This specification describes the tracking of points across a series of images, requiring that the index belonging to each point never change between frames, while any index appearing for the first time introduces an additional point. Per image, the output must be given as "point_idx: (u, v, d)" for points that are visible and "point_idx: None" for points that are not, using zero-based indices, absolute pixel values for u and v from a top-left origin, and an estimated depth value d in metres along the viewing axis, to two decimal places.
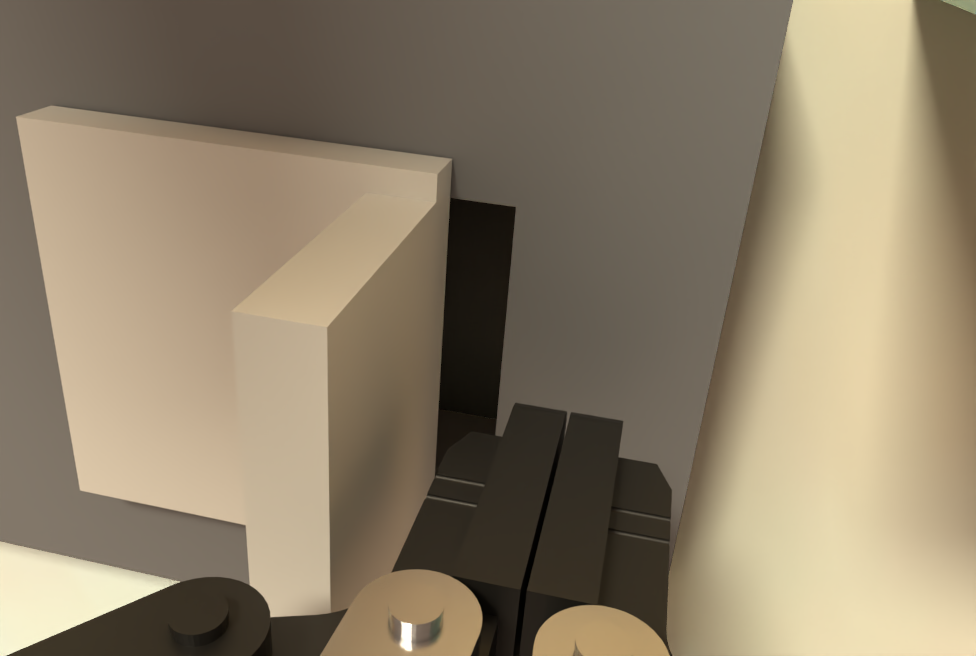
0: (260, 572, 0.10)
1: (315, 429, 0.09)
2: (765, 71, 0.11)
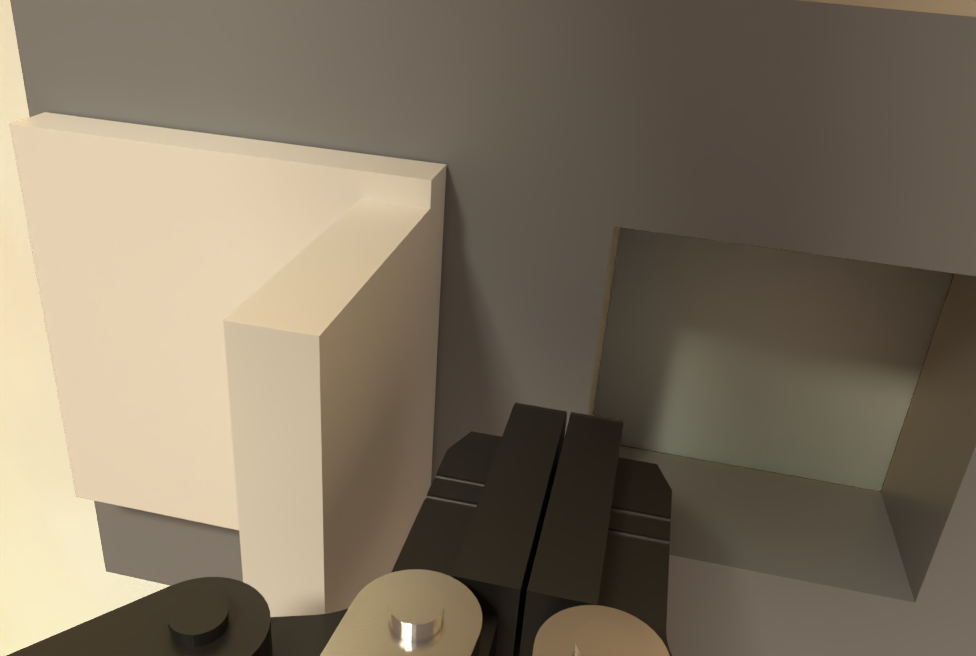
0: (255, 580, 0.10)
1: (307, 438, 0.09)
2: None
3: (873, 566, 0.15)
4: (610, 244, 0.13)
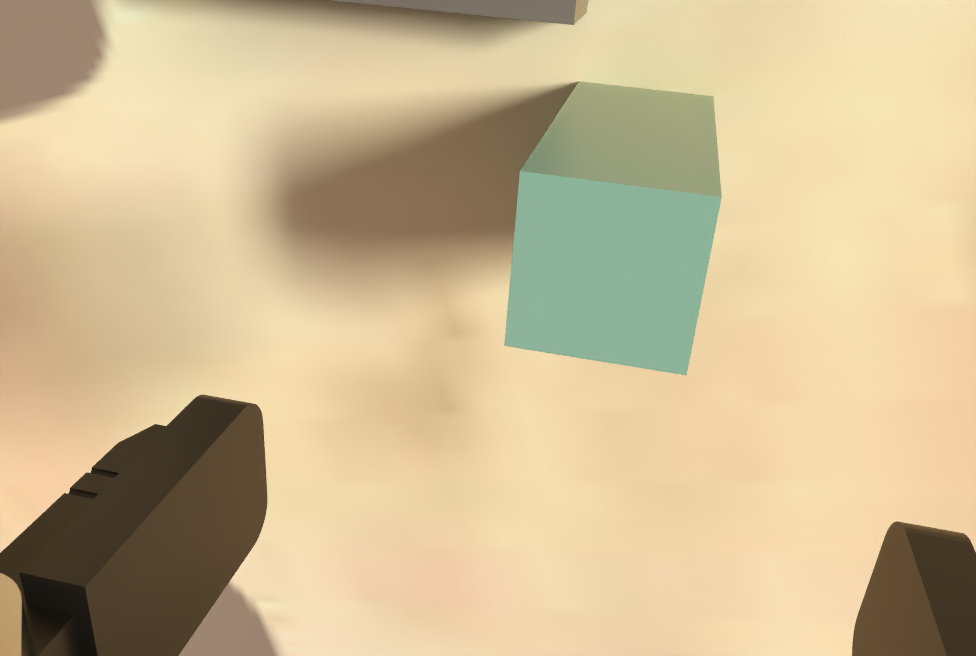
0: None
1: None
2: (538, 15, 0.23)
3: None
4: None
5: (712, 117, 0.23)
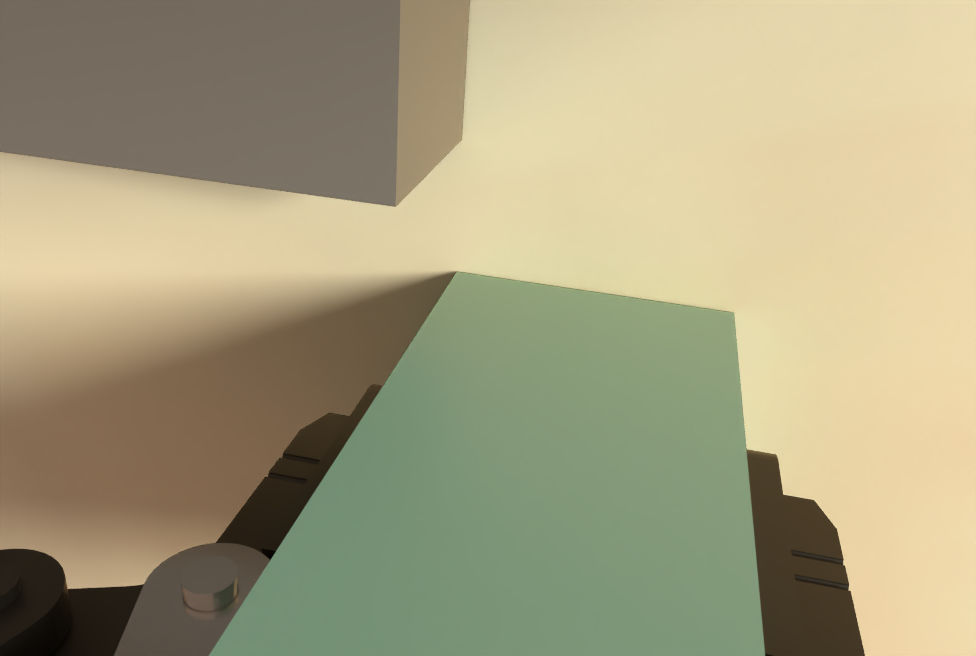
0: None
1: None
2: (312, 182, 0.09)
3: None
4: None
5: (737, 418, 0.10)
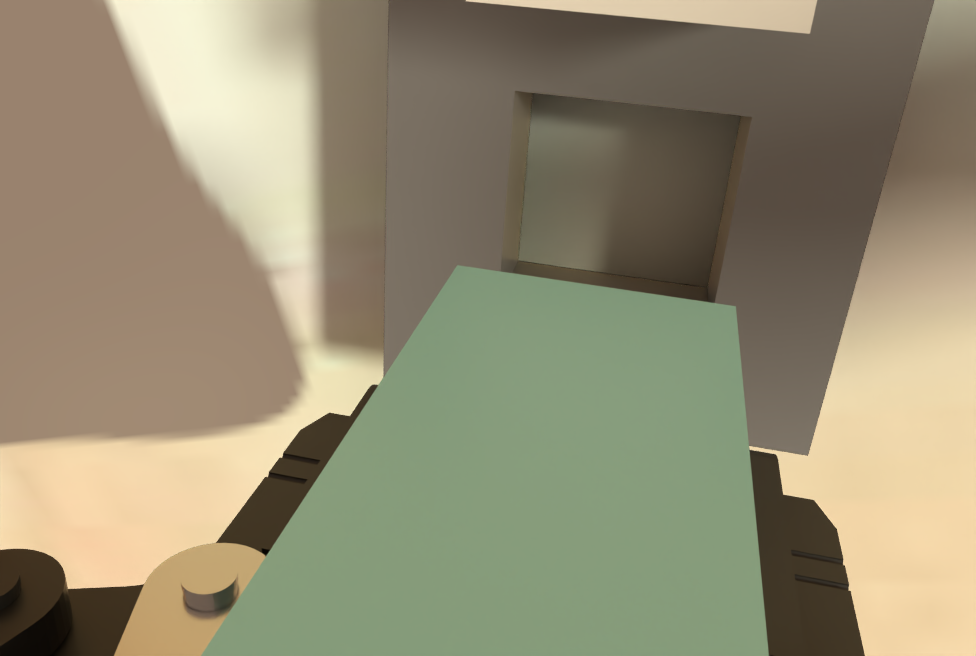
0: None
1: (738, 17, 0.15)
2: (773, 445, 0.24)
3: None
4: (740, 115, 0.20)
5: (739, 411, 0.10)
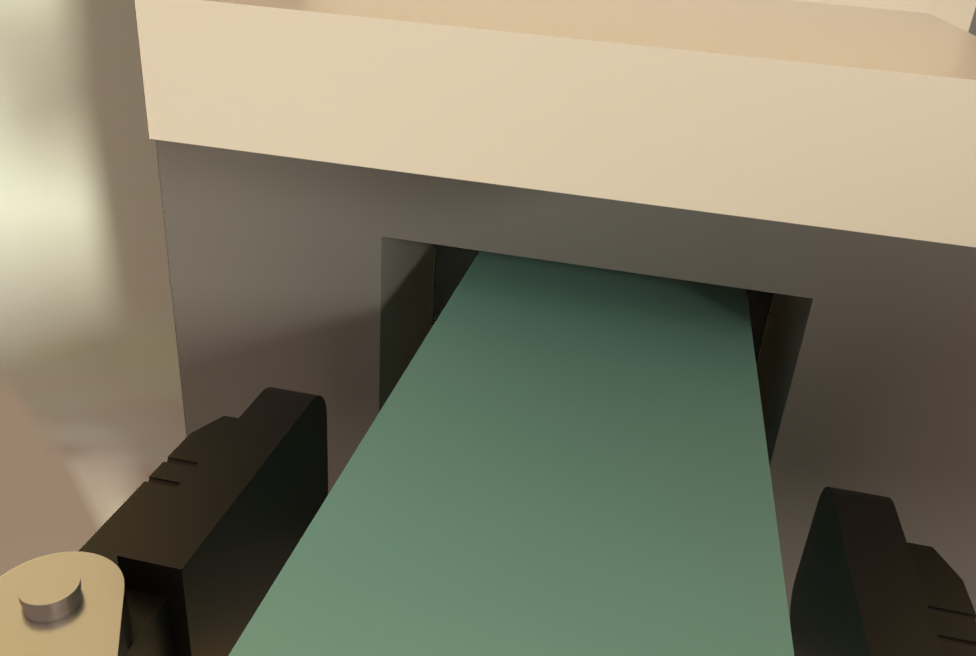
0: (516, 57, 0.06)
1: (833, 207, 0.06)
2: None
3: None
4: (790, 294, 0.11)
5: (747, 337, 0.11)
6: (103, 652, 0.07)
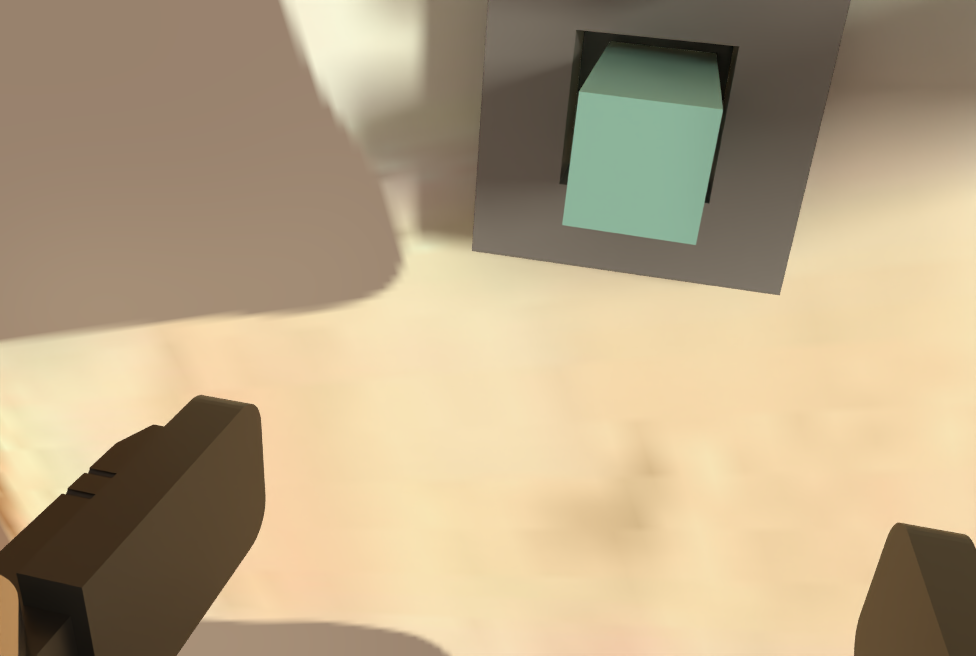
0: None
1: None
2: (754, 288, 0.33)
3: (563, 165, 0.34)
4: (731, 45, 0.30)
5: (715, 65, 0.30)
6: None
